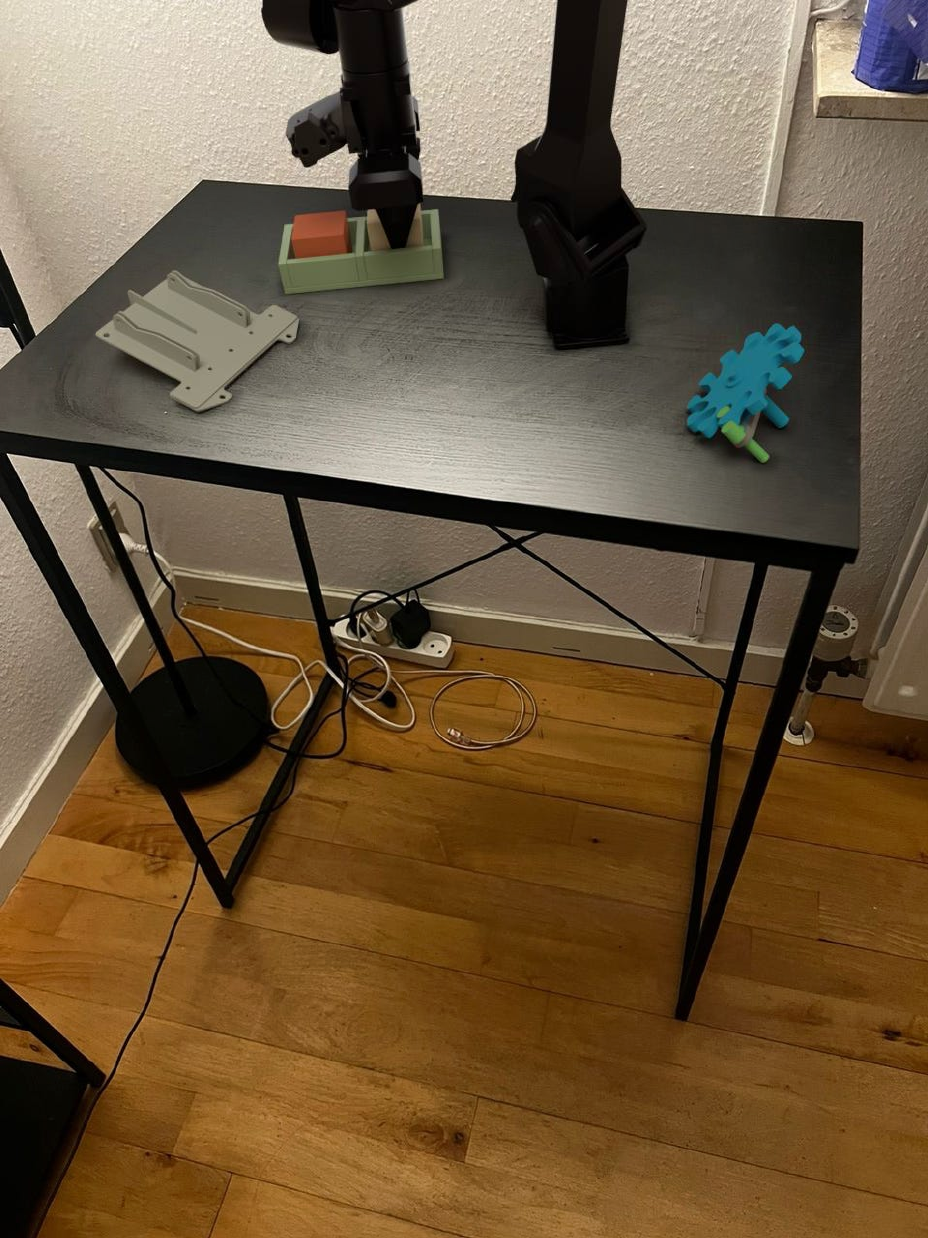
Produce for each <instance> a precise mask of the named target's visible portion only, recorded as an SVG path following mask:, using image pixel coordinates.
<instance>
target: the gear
mask: <svg viewBox="0 0 928 1238" xmlns="http://www.w3.org/2000/svg"><path fill="white" fill-rule="evenodd" d="M801 341H802V333H801V332H800V331H799V330H798V328H797V327H795V325H791V326H790V327H788V328H787V329H785V327H784V326H783V325H781V324H780V323H774V324H773V325H771V326H770V328H769V329H768V330H767V332H766V333H765V335H763V334H762V333H761V332H760V331H755V332H753V333H751V334H749V335H748V336H746V338H745V341H744V345H743V347H742V350H741V352H740V353H737V352H736V351H735V350H734V348H733V349H730V350H729V351H727V352H726V353H725V354H723V355H722V356H721V357H720V359H719V362H720V363H721V365H722V369H721V372H720V375H718V376H716V375H715V374H713V372H711V371H710V372H708V373H707V374H706V375H705V376H704V377H703V378H702V379H701V380H700V381H699V383H698V386H699V387H700V388H701V389H702V390H703V391H704V392H705V393H708V394H706V396H704V397H701V396H700V395H699V394H696V395H694V396H692V398H691V399H690V401H689V402H688V404H687V406H686V410H688V411H689V413H690V415H689V416H688V417H687V420H686V426H687V427H688V428H689V429H690V430H691V431H692V432H693V433H697V432H700V433H701V434H702V435H703V436H704V437H706V438H707V439H710V438H712V437H714V435H715V433H716V432H717V431H718V428H719V427H720V428H721V433H722V434H723V435H724V436H725V437H726V438H727V439H728V440H729V442H730V443H732V445H734V447H736V448H738V449H739V448H743V447H745V449H747V450H748V451H749V452H750V453H751V455H753V456H754V457H755V459H757V460H758V462H760V463H761V464H765V463H766V462H768V460H769V459H770V455H769V454H768V452H766V451H765V450H764V449H763V447H762V446H760V445H759V444H758V443H757V442H756V441H755V440H754V439H753V437H754V435H755V431H756V428H757V425H758V422H759V418H760V415H761V412H762V413H763V414H764V415H765V416H766V417H767V418H768V419H769V421H770V422H772V424H774V425H775V426H776V428H778V429H781V428H784V427H785V426H786V425H787V424H788V423H789V421H790V418H789V417H788V415H787V414H785V412H784V411H783V410H781V409H780V407H779V406H778V405H777V404H776V403H775V402H774V401H773V400H772V399H771V398H770V397H769V396H768V395H767V391H768V389H767V386H768V385H769V384H771V385H772V386H773V387H774V388H775V389H776V390H781V389H783V388H784V387H785V386H786V385H787V384H788V382H790V381H791V379H792V378H793V376H792V374H791V373H790V372H789V371H788V370H787V369H786V368H785V366H781V365H782V364H783V363H786V362H788V364H789V365H795V364H797V363H799V361H800V360H801V358H802V356H803V354H804V352H805V349H804V347H803V346H802V345H801V344H800V342H801Z"/></svg>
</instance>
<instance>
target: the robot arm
mask: <svg viewBox="0 0 928 1238" xmlns="http://www.w3.org/2000/svg"><path fill="white" fill-rule="evenodd" d="M261 1H262V4H261V5H262V7H261V9H260V13H261V19H262V22H263V26H264V28H265V30H266V32H267V34H268V35H269V36H270V37H271V38H272V39H273V40H274V41H275V42H276V43H278V44H280V45H284V46H288V47H292V48H296V49H301V50H306V51H310V52H315V53H320V54H324V55H334V54H337V53H338V55H339V60H340V68H341V74H340V75H341V76H340V80H341V87H339V91H337V92H334V93H332V94H330V95H327V96H325V97H323V98H321V99H319V100H317V101H315V102H314V103H312V104H309V105H308V106H306V107H304V108H302V109H300V110H298V111H297V112H295V113H294V114H292V115H291V116H290V117H289V118H288V120H287V124H286V129H285V136H286V138H287V140H288V142H289V144H290V147H291V151H290V152H291V156H292V157H294V158H295V159H299V161H300V163H301V164H302V166H303V167H304V168H305V169H308V168H311V167H313V166H316V165H317V164H318V161H320V160H322V159H324V158H326V157H327V156H330V155H332V154H333V153H335V152H337V151H340V150H341V149H343V148H344V147H345V146H347V152H348V154H349V155H351V154H356V155H357V157H358V158H357V159H356V160H355V162H354V163H353V164H352V166H351V167H350V168H349V170H348V185H347V189H348V194H349V200H350V206H351V209H352V210H355V211H358V212H359V211H360V212H361V211H368V210H371V209H375V211H376V213H377V215H378V217H379V220H380V222H381V225H382V227H383V229H384V232H385V234H386V237H387V239H388V242H389V244H390V247H391V249H400V248H406V244H407V241H408V237H409V233H410V230H411V226H412V223H413V219H414V216H415V213H416V209H417V206H418V204H420V205H421V204H422V203H423V202H424V184H423V173H422V166H421V165H422V164H421V162H420V161H419V160H420V157H421V156H420V155H421V152H422V151H421V150H422V149H421V138H420V137H418V136H417V132H421V119H420V110H419V109H420V107H419V100H418V99H416V97H414V96H413V93H412V92H413V90H412V81H411V78H412V77H411V67H410V65H411V64H410V61H409V56H408V55H409V54H408V47H407V38H406V37H407V36H406V29H405V18H404V13H403V10H404V9H403V8H406V7H409V6H410V5H412V4H414V3H417V2H419V1H420V0H261ZM628 2H629V1H628V0H556V2H555V3H556V4H555V16H554V27H553V39H552V49H551V61H550V62H551V63H550V74H549V84H548V97H547V107H546V120H545V126H544V129H543V131H542V133H541V134H540V135H539V136H537V137H535V138H534V139H532V140H530V141H529V142H528V143H526V144H524V145H523V146H520V147H519V148H517V150H516V152H515V153H516V154H515V158H514V171H515V183H514V184H515V185H514V190H513V192H512V193H511V194H512V195H511V197H510V201H511V203H516V217H517V222H518V225H519V228H520V229H522V231H523V234H524V238H525V241H526V244H527V247H528V250H529V254H530V258H531V260H532V264H533V267H534V270H535V273H536V275H537V276H538V277H541V278H542V308H543V312H542V313H543V315H542V316H543V320H544V321H543V322H544V325H545V330H546V332H548V334H549V333H550V334H551V338H552V344H553V347H554V349H556V350H562V349H563V350H564V349H574V348H575V349H576V348H586V347H595V346H606V345H614V344H615V345H616V344H625V343H629V342H630V337H631V334H630V331H629V328H628V325H627V310H628V309H627V308H628V291H629V290H628V289H629V276H630V275H629V274H630V273H629V272H630V264H629V261H628V259H627V254H629V253H630V252H631V251H632V250H635V249H637V248H638V247H640V246H641V244H642V241H643V239H644V236H645V235H646V232H647V230H648V224H647V223H646V221H645V220H644V218H643V217H642V215H641V214H640V212H639V210H638V209H637V208H636V206H635V205H634V203H633V202H632V200H631V199H630V197H629V196H628V194H627V193H626V191H625V190H624V188H623V187H622V173H623V172H622V171H623V170H622V167H623V166H622V165H623V163H622V162H623V161H622V154H621V152H620V148H619V147H618V144H617V141H616V138H615V136H614V134H613V133H614V132H613V131H612V116H613V115H612V114H613V108H614V101H615V93H616V86H617V79H618V72H619V65H620V58H621V51H622V43H623V36H624V29H625V22H626V14H627V8H628Z"/></svg>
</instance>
